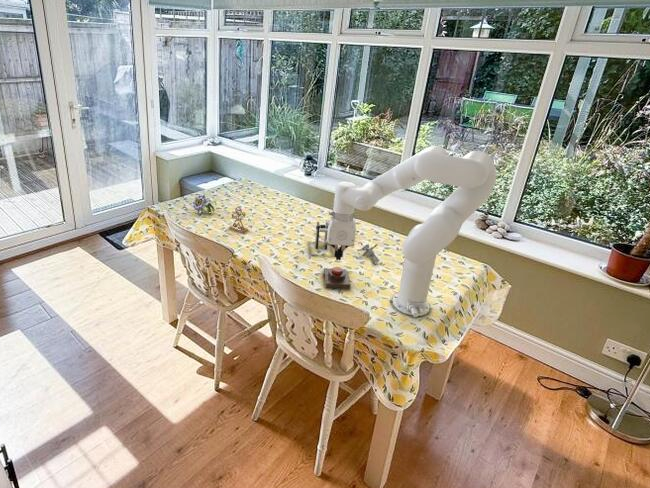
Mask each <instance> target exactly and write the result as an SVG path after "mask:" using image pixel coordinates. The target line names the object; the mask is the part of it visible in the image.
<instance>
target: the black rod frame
mask: <svg viewBox="0 0 650 488" xmlns="http://www.w3.org/2000/svg"><path fill="white" fill-rule="evenodd" d="M320 225H321V224H320V221H316V225H315V239H314V240H315V241H314V247H315V250H318V249H319V241H320V240H319V239H320V232H319V228H320ZM325 225H326V229H328V225H329V221H326V222H325ZM326 239H327V232H324V240H323V247H324V250H328V245H326V243H325V242H326Z"/></svg>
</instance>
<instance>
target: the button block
mask: <svg viewBox="0 0 650 488" xmlns="http://www.w3.org/2000/svg"><path fill="white" fill-rule="evenodd" d="M333 268H334V267H331V268H328V267H326V268H325V267H324V268H323V278H324V284H325V285H324V286H325V289H336V290H337V289H338V290H350V289H351V282H350V278H349V275H348V270H347V269H345V268H341V269H342V274H341V275H335V274H333V273H332V271H333Z"/></svg>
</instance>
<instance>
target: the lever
mask: <svg viewBox="0 0 650 488" xmlns="http://www.w3.org/2000/svg"><path fill="white" fill-rule="evenodd" d="M327 230H328V229H326V224H320V228H319V233H325V232H327Z"/></svg>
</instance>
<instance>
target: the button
mask: <svg viewBox="0 0 650 488" xmlns="http://www.w3.org/2000/svg"><path fill="white" fill-rule="evenodd" d="M332 268H333V271H332V273H333V274H335V275H341V274H342V269H343V268H342V267H340V266H334V267H332Z"/></svg>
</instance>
